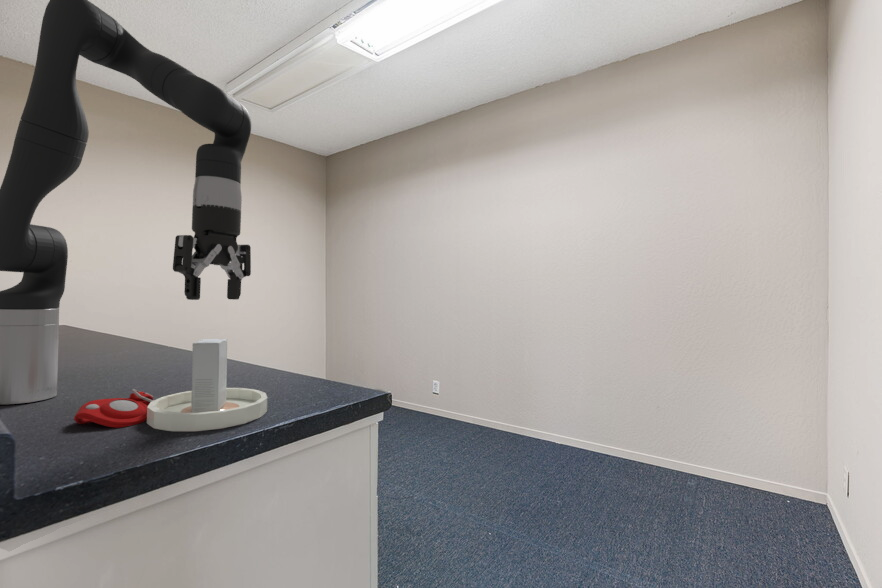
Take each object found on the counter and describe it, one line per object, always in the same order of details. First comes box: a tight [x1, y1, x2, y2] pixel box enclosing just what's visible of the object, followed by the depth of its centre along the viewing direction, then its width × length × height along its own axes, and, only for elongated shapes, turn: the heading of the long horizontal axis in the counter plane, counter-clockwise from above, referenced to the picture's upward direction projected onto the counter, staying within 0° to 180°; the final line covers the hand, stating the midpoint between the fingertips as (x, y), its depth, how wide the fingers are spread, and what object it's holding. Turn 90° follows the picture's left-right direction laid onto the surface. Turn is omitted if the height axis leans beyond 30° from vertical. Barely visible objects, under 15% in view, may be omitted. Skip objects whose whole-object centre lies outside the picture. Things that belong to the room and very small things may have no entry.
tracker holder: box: [73, 388, 155, 429], centre depth 69 cm, size 12×4×10 cm
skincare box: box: [191, 338, 228, 413], centre depth 73 cm, size 6×4×12 cm
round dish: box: [146, 387, 268, 432], centre depth 73 cm, size 18×18×3 cm
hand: (214, 299), depth 73 cm, fingers open, 8 cm apart
